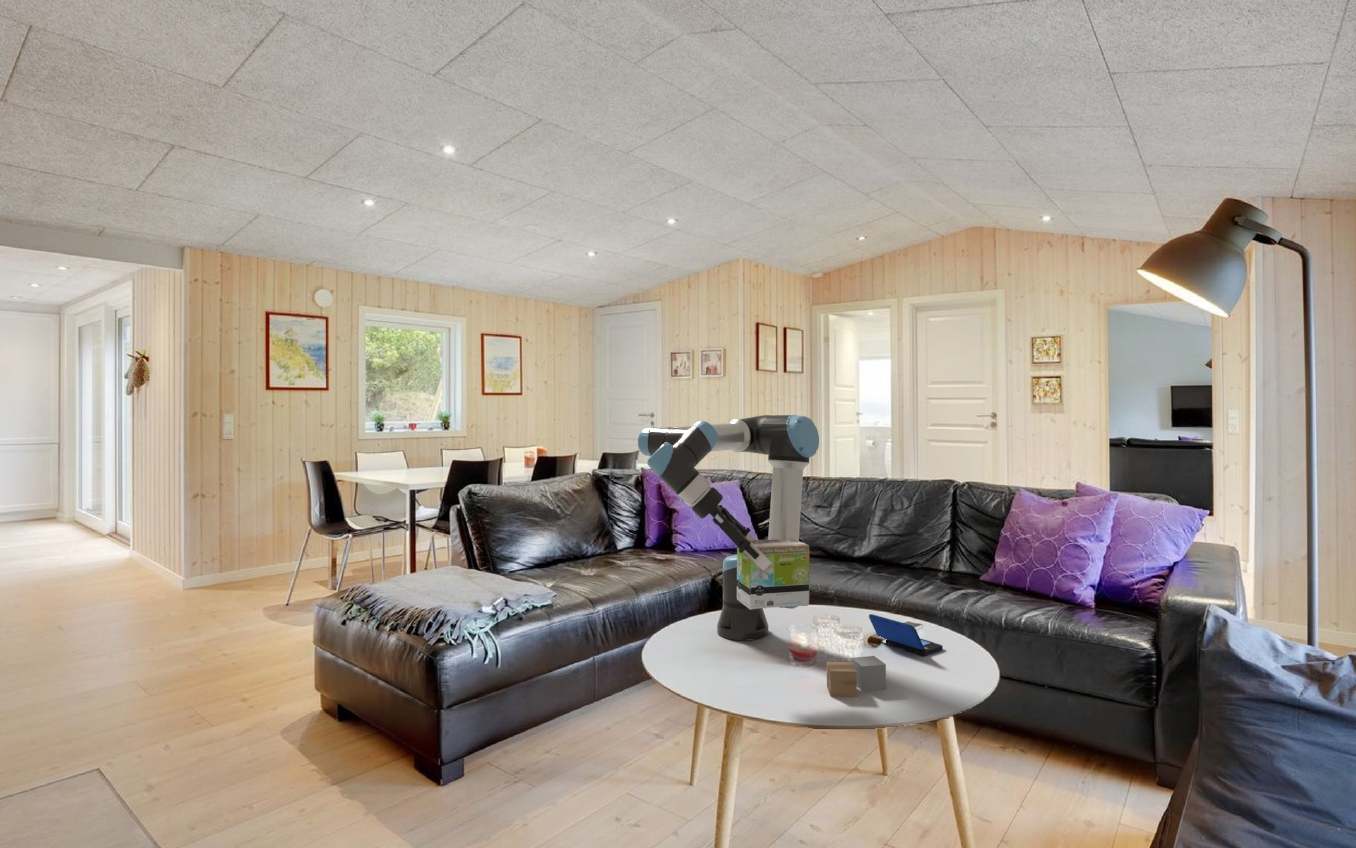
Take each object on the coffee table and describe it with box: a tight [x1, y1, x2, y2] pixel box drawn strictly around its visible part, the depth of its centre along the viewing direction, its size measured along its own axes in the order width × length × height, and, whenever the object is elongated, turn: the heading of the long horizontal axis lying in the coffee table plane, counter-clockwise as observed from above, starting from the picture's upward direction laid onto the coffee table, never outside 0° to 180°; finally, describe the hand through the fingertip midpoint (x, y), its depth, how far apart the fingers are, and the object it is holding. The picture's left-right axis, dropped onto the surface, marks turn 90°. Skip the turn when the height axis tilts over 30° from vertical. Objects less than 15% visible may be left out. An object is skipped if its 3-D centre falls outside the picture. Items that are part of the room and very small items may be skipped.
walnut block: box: [826, 661, 858, 698], centre depth 170 cm, size 6×6×6 cm
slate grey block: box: [850, 655, 887, 692], centre depth 174 cm, size 6×6×6 cm
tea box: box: [736, 539, 810, 610], centre depth 173 cm, size 15×10×15 cm
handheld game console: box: [868, 613, 944, 657], centre depth 200 cm, size 16×13×9 cm
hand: (766, 561), depth 172 cm, fingers closed on tea box, 12 cm apart
